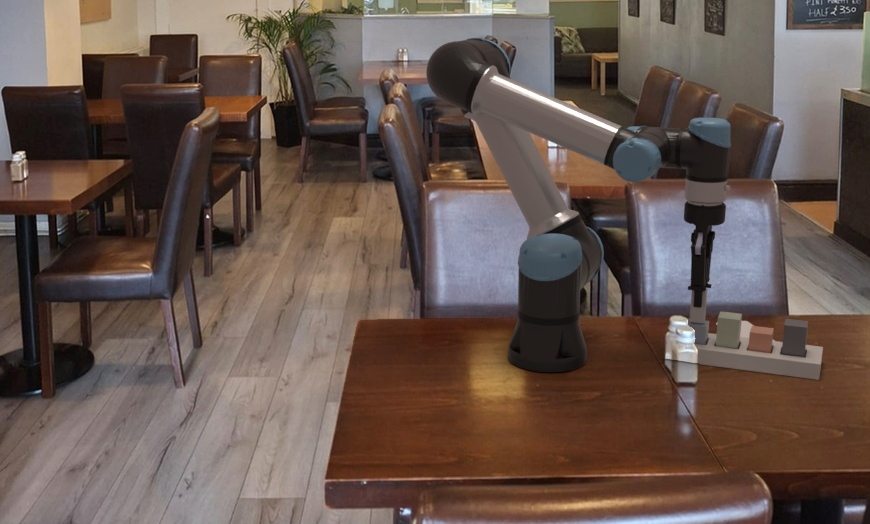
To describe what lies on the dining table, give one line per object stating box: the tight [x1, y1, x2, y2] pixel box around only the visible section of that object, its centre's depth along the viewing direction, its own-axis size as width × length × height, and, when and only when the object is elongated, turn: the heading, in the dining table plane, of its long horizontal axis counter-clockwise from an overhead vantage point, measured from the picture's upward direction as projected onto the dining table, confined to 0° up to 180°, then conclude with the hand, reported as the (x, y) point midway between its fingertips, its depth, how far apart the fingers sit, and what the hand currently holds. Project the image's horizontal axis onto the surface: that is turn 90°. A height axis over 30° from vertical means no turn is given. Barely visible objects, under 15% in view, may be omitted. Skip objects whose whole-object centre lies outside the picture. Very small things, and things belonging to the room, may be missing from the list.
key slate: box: [687, 317, 710, 345], centre depth 201 cm, size 4×4×6 cm
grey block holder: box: [664, 332, 824, 381], centre depth 199 cm, size 28×10×3 cm, turn 68°
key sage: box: [716, 311, 743, 349], centre depth 199 cm, size 4×4×6 cm
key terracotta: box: [748, 325, 775, 353], centre depth 197 cm, size 4×4×6 cm
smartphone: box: [715, 320, 776, 341], centre depth 214 cm, size 7×1×15 cm
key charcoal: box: [782, 318, 809, 357], centre depth 194 cm, size 4×4×6 cm
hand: (697, 321), depth 200 cm, fingers closed
